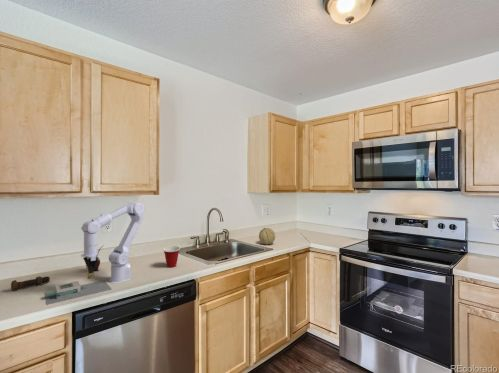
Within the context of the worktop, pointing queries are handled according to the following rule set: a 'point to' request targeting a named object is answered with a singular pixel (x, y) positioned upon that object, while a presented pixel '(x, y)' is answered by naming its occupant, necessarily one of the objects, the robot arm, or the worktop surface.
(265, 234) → the cantaloupe
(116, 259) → the robot arm
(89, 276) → the pin
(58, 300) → the mat
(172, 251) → the plastic cup
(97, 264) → the mate gourd
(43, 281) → the bolt
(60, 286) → the grey teal hollow block
